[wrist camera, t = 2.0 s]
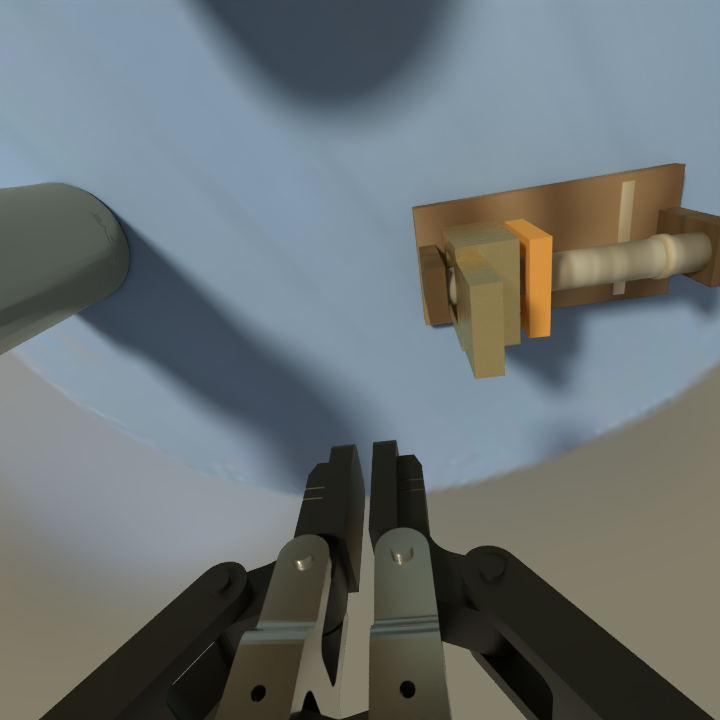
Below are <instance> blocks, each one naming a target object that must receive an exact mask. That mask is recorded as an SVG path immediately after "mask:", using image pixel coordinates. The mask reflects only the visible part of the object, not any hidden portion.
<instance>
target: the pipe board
mask: <svg viewBox="0 0 720 720" xmlns="http://www.w3.org/2000/svg"><path fill="white" fill-rule="evenodd" d="M684 171H685V164H678V163H674V164H668V165H662V166H656V167H650V168H644V169H638V170H632V171H626V172H620V173H614V174H608V175H602V176H596V177H590V178H584V179H578V180H572V181H566V182H560V183H554V184H548V185H542V186H536V187H530V188H524V189H518V190H512V191H506V192H500V193H494V194H488V195H482V196H476V197H470V198H464V199H458V200H452V201H446V202H440V203H434V204H428V205H422V206H416V207H412V208H413V217H414V226H415V235H416V244H417V253H418V262H419V271H420V280H421V289H422V298H423V307H424V316H425V323H426V325H433V324H441V323H449V322H452V319H451V316H450V311H449V305H455V304H457V301H456V288H455V275H454V267H453V268H446V263H445V251H444V239H443V228H446V227H452V226H458V225H464V224H471V223H477V222H483V221H489V220H496V221H497V222H498V223H500V224H501V225H502V226H504V227H505V223H504V222H506V221H512V220H519V219H524V220H526V221H527V222H529V223H531V224H532V225H534V226H536V227H537V228H539V229H541V230H542V231H544V232H546V233H548V234H549V235H551V236H552V277H551V309H555V308H562V307H570V306H577V305H585V304H593V303H600V302H608V301H615V300H623V299H630V298H638V297H646V296H653V295H661V294H667V289H668V282H669V277H670V276H672V275H674V274H682V275H684V276H687V277H689V278H691V279H693V280H695V281H697V282H700V283H702V284H704V285H706V286H708V287H717V286H720V216H715V215H711V214H707V213H702V212H698V211H694V210H690V209H685V208H681V207H679V206H680V199H681V192H682V185H683V178H684ZM521 295H525V257H520V296H521Z"/></svg>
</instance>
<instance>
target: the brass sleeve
mask: <svg viewBox="0 0 720 720" xmlns="http://www.w3.org/2000/svg"><path fill="white" fill-rule="evenodd" d="M443 239H444V251H445V263H446V268H453V267H454V275H455V288H456V301H457V304H455V305H449V311H450V316H451V319H452V322H453V325H454V328H455V331H456V334H457V337H458V340H459V343H460V346H461V348H462V351H465V352H466V354H467V357H468V360H469V363H470V366H471V368H472V371H473V374H474V377H475V379H479V378H488V377H497V376H505V354H504V346H508V345H516V344H520V239H519V238H518V237H517V236H515V235H514V234H513V233H511V232H510V231H509V230H508V229H506V228H505V227H504V226H502V225H501V224H500V223H498V222H497V221H496V220H489V221H483V222H477V223H471V224H464V225H458V226H452V227H446V228H443Z"/></svg>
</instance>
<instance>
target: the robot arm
mask: <svg viewBox="0 0 720 720" xmlns="http://www.w3.org/2000/svg"><path fill="white" fill-rule="evenodd" d="M129 262H130V257H129V247H128V244H127V241H126V237H125V235H124V233H123V231H122V229H121V227H120V225H119V223H118V221H117V220H116V219H115V217H114V216H113V214H112V213H111V212H110V211H109V210H108V209H107V208H106V207H105V206H104V205H103V204H102V203H101V202H100V201H99V200H98V199H96V198H95V197H93V196H92V195H91V194H89V193H88V192H85V191H83V190H81V189H79V188H77V187H75V186H71V185H67V184H63V183H44V184H36V185H28V186H20V187H13V188H3V189H0V355H1V354H3V353H5V352H7V351H9V350H10V349H12V348H14V347H16V346H18V345H20V344H21V343H23V342H25V341H27V340H29V339H30V338H32V337H34V336H36V335H38V334H40V333H41V332H43V331H45V330H47V329H49V328H50V327H52V326H54V325H56V324H58V323H59V322H61V321H63V320H65V319H67V318H69V317H70V316H72V315H74V314H76V313H78V312H80V311H82V310H83V309H85V308H87V307H89V306H91V305H92V304H94V303H96V302H98V301H100V300H102V299H103V298H105V297H107V296H109V295H111V294H112V293H113V292H115V291H116V290H117V289H118V288H119V287H120V286H121V285H122V283H123V282H124V280H125V278H126V275H127V273H128V269H129ZM364 508H365V488H364V480H363V476H362V471H361V466H360V462H359V457H358V452H357V448H356V445H355V444H351V445H341V446H333V447H332V449H331V454H330V460H329V463H320V464H317V465H316V467H315V468H314V469H313V471H312V472H311V473H310V474H309V477H308V481H307V485H306V490H305V493H304V497H303V501H302V506H301V510H300V514H299V518H298V522H297V526H296V531H295V535H294V539H292V540H291V541H290V542H288V543H287V544H286V545H285V546H284V547H283V548H282V549H281V551H280V553H279V555H278V558H277V560H276V561H274V562H272V563H270V564H268V565H265V566H263V567H260V568H257V569H254V570H252V571H249V572H246V570H245V568H244V567H243V566H242V565H241V564H239V563H236V562H224V563H220V564H218V565H216V566H213V567H212V568H210V569H209V570H207V571H206V572H205V573H204V574H203V575H201V576H200V577H199V578H198V579H197V580H196V581H195V582H194V583H193V584H191V585H190V586H189V587H188V588H187V589H186V590H185V591H183V592H182V593H181V594H180V595H179V596H178V597H177V598H176V599H174V600H173V601H172V602H171V603H170V604H169V605H168V606H167V607H165V608H164V609H163V610H162V611H161V612H160V613H159V614H158V615H157V616H155V617H154V618H153V619H152V620H151V621H150V622H149V623H148V624H146V625H145V626H144V627H143V628H142V629H141V630H140V631H138V632H137V633H136V634H135V635H134V636H133V637H132V638H131V639H129V641H127V642H126V643H125V644H124V645H123V646H122V647H120V648H119V649H118V650H117V651H116V652H115V653H114V654H112V655H111V656H110V657H109V658H108V659H107V660H106V661H105V662H103V663H102V664H101V665H100V666H99V667H98V668H97V669H96V670H94V671H93V672H92V673H91V674H90V675H89V676H88V677H87V678H86V679H84V680H83V681H82V682H81V683H80V684H79V685H78V686H76V687H75V688H74V689H73V690H72V691H71V692H70V693H69V694H67V695H66V696H65V697H64V698H63V699H62V700H61V701H60V702H58V703H57V704H56V705H55V706H54V707H53V708H52V709H51V710H49V711H48V712H47V713H46V714H45V715H44V716H43V717H42V718H40V719H39V720H452V712H451V706H450V698H449V690H448V683H447V675H446V667H445V660H444V652H443V644H442V641H444V642H447V643H450V644H453V645H457V646H460V647H463V648H466V649H469V650H470V652H471V654H472V655H473V657H474V658H475V660H476V661H477V662H478V663H479V664H480V665H481V666H482V668H483V669H484V670H485V671H486V672H487V673H488V675H489V676H490V677H491V678H492V679H493V680H494V681H495V683H496V684H497V685H498V686H499V687H500V688H501V689H502V691H503V692H504V693H505V694H506V695H507V696H508V698H509V699H510V700H511V701H512V702H513V703H514V705H515V706H516V707H517V708H518V709H519V710H520V711H521V713H522V714H523V715H524V716H525V717H526V718H527V720H714V719H713V718H712V717H711V716H710V715H708V714H707V713H706V712H705V711H704V710H702V709H701V708H700V707H699V706H697V705H696V704H695V703H694V702H693V701H691V700H690V699H689V698H687V697H686V696H685V695H684V694H683V693H681V692H680V691H679V690H678V689H676V688H675V687H674V686H673V685H672V684H670V683H669V682H668V681H667V680H666V679H664V678H663V677H662V676H660V675H659V674H658V673H657V672H656V671H654V670H653V669H652V668H651V667H650V666H648V665H647V664H646V663H645V662H644V661H642V660H641V659H640V658H639V657H637V656H636V655H635V654H634V653H632V652H631V651H630V650H629V649H628V648H626V647H625V646H624V645H623V644H621V643H620V642H619V641H618V640H617V639H615V638H614V637H613V636H612V635H610V634H609V633H608V632H606V630H604V629H603V628H602V627H601V626H599V625H598V624H597V623H596V622H594V621H593V620H592V619H591V618H590V617H588V616H587V615H586V614H584V613H583V612H582V611H581V610H580V609H579V608H577V607H576V606H575V605H574V604H572V603H571V602H570V601H568V599H566V598H565V597H564V596H563V595H561V594H560V593H559V592H558V591H556V590H555V589H554V588H553V587H552V586H550V585H549V584H548V583H547V582H545V581H544V580H543V579H542V578H541V577H539V576H538V575H537V574H536V573H534V572H533V571H532V570H531V569H530V568H528V567H527V566H526V565H525V564H523V563H522V562H521V561H520V560H519V559H517V558H516V557H515V556H514V555H512V554H511V553H510V552H508V551H506V550H505V549H502V548H500V547H495V546H480V547H477V548H474V549H472V550H471V551H469V552H468V553H467V554H466V555H461V554H457V553H453V552H449V551H447V550H444V549H443V548H441V547H439V546H438V545H437V544H436V543H435V542H434V541H433V540H432V538H431V537H430V530H429V520H428V510H427V501H426V493H425V486H424V478H423V471H422V465H421V463H420V462H419V461H418V459H417V458H416V457H415V455H404V456H399V453H398V447H397V441H396V440H391V441H381V442H374V443H373V458H372V477H371V495H370V515H369V516H370V517H369V533H370V538H371V543H372V547H373V552H374V556H375V575H374V579H375V580H374V581H375V582H374V625H371V628H370V646H369V710H368V711H365V712H362V713H359V714H356V715H353V716H350V717H347V718H344V719H341V709H340V689H341V680H342V671H343V662H344V653H345V645H346V635H347V627H348V614H347V601H348V593H351V592H359V581H360V567H361V566H360V565H361V552H362V537H363V523H364ZM213 642H214V643H213ZM212 643H213V644H212ZM211 644H212V645H211ZM210 645H211V646H210ZM209 646H210V647H209ZM208 647H209V648H208ZM207 648H208V649H207ZM206 649H207V650H206ZM205 650H206V651H205ZM204 651H205V652H204ZM203 652H204V653H203ZM202 653H203V654H202ZM201 654H202V655H201ZM200 655H201V656H200ZM199 656H200V657H199ZM198 657H199V659H198V660H197V661H196V662H195V663H194V664H193V665H192V666H191V667H190V668H189V666H190V665H191V664H192V663H193V662H194V661H195V660H196V659H197V658H198ZM188 668H189V669H188ZM187 669H188V670H187ZM186 670H187V671H186ZM185 671H186V672H185ZM184 672H185V673H184ZM183 673H184V674H183ZM182 674H183V675H182ZM181 675H182V676H181ZM180 676H181V677H180ZM179 677H180V678H179ZM178 678H179V679H178ZM177 679H178V680H177ZM176 680H177V681H176ZM175 681H176V682H175ZM174 682H175V683H174ZM173 683H174V684H173Z"/></svg>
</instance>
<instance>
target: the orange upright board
mask: <svg viewBox="0 0 720 720" xmlns="http://www.w3.org/2000/svg"><path fill="white" fill-rule="evenodd" d="M504 223H505V228H506V229H508V230H509V231H510V232H511V233H513V234H514V235H515V236H517V237H518V238H519V239H520V257H525V295H521V296H520V325H521V327H522V328H523V330H524V331H525V332H526V334H527V335H528V337H529V338H537V337H545V336H550V319H551V277H552V236H551V235H549V234H548V233H546V232H544V231H542V230H541V229H539V228H537V227H536V226H534V225H532V224H531V223H529V222H527V221H526V220H524V219H519V220H512V221H506V222H504Z"/></svg>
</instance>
